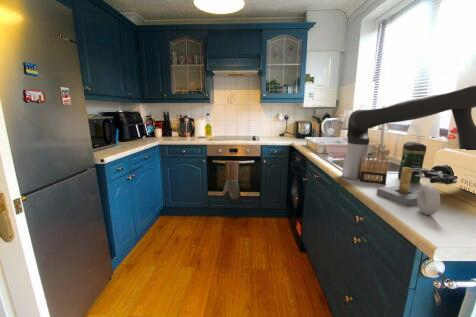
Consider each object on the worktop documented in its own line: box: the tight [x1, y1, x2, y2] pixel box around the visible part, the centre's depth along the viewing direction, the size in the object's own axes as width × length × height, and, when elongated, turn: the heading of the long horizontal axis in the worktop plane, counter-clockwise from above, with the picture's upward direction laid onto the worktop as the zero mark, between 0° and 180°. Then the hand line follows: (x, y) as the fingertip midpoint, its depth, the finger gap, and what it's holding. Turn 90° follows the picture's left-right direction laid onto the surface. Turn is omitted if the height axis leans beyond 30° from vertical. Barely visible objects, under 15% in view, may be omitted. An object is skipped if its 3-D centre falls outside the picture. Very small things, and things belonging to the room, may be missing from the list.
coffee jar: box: [397, 141, 427, 183], centre depth 108 cm, size 10×8×19 cm
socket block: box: [376, 184, 419, 207], centre depth 87 cm, size 12×12×2 cm
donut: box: [417, 183, 441, 216], centre depth 73 cm, size 10×3×10 cm, turn 161°
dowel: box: [398, 167, 412, 195], centre depth 86 cm, size 3×3×12 cm
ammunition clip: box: [358, 156, 389, 186], centre depth 104 cm, size 11×2×12 cm, turn 65°
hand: (419, 177), depth 88 cm, fingers open, 8 cm apart
